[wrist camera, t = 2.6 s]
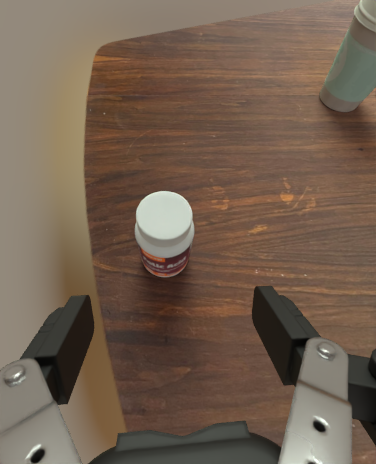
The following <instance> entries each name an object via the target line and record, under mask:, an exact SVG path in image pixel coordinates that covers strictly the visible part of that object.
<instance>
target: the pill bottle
mask: <svg viewBox="0 0 376 464" xmlns="http://www.w3.org/2000/svg"><path fill="white" fill-rule="evenodd" d="M136 221H137V222H136V225H135V237H136V241H137V244H138V247H139V251H140V255H141V258H142V261H143V264H144V266H145V267H146V269H147V270H148V271H149V272H150V273H152V274H154V275H156V276H159V277H171V276H174V275H176V274H178V273H179V272H181V271H182V270H183V269H184V267H185V266H186V264H187V262H188V258H189V254H190V250H191V246H192V242H193V237H194V224H193V221H192V210H191V207H190V205H189V204H188V202H187V201H186V200H185V199H184V198H183V197H182V196H180V195H178V194H176V193H173V192H168V191H160V192H155V193H152V194H150V195H148V196H147V197H145V198H144V199H143V200H142V201H141V203H140V204H139V206H138V208H137V212H136Z"/></svg>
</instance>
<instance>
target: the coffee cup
mask: <svg viewBox="0 0 376 464" xmlns="http://www.w3.org/2000/svg"><path fill="white" fill-rule="evenodd" d="M354 13H355V16H354V18H353V20H352V22H351V24H350V26H349V29H348V31H347V33H346V35H345V38H344V40H343V42H342V44H341V46H340V49H339V51H338V53H337V55H336V58H335V60H334V62H333V64H332V66H331V69H330V71H329V73H328V75H327V77H326V80H325V82H324V84H323V86H322V89H321V91H320V99H321V101H322V102H323V103H324V104H325V105H326V106H327V107H329V108H331V109H333V110H336V111H339V112H350V111H353V110H354V109H355V108H356V107H357V106H358V105H359V104H360V103H361V102H362V101H363V100H364V99H365V98H366V97H367V96H368V95H369V94H370V93H371V92H372V90H373V89H374V88H375V87H376V0H360V2H359V4H358V5H357V6H356V7H355V10H354Z"/></svg>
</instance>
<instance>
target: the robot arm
mask: <svg viewBox="0 0 376 464" xmlns="http://www.w3.org/2000/svg"><path fill="white" fill-rule="evenodd" d="M252 319H253V323H254V326H255V328H256V330H257V332H258V334H259V336H260V338H261V340H262V342H263V344H264V346H265V348H266V350H267V352H268V354H269V356H270V358H271V360H272V362H273V364H274V366H275V369H276V371H277V373H278V375H279V377H280V379H281V381H282V383H283V385H294V386H295V387H296V388H295V392H294V396H293V401H292V405H291V409H290V414H289V418H288V422H287V427H286V431H285V435H284V440H283V444H282V448H281V447H280V446H278V445H277V444H276V443H274V442H272V441H271V440H269V439H267V438H265V437H263V436H260V435H257V434H254V433H250V432H249V431H248V427H247V424H246V421H236V422H226V423H217V424H213V425H211V426H208V427H206V428H203V429H201V430H199V431H196V432H194V433H191V434H189V435H186V436H178V435H173V434H168V433H163V432H157V431H152V430H147V431H137V432H127V433H118V438H117V443H116V446H115V447H113V448H110V449H109V450H107V451H105V452H103V453H102V454H100V455H99V456H97V457H96V458H94V459H93V460H92V461H91V462H90V463H89V464H352V418H353V419H357V420H359V421H360V422H361V424H362V425H363V427H364V428H365V430H366V431H367V433H368V435H369V436H370V438H371V439H372V441H373V442H374V444H375V445H376V349H375V350H373V352H372V355H371V358H367V357H361V356H356V355H350V354H347V353H346V351H345V350H344V349H343V348H342V347H341V346H340V345H338V344H337V343H335V342H333V341H331V340H329V339H326V338H322V337H321V336H320V335H319V334H318V333H317V331H316V330H315V329H314V328H313V326H312V325H311V324H310V323H309V321H308V320H307V319H306V318H305V317H304V316H303V314H302V313H301V312H300V310H298V308H297V307H296V305H295V304H294V303H293V302H292V301H291V300H289V299H288V298H286V297H285V296H283V295H278V293H277V292H276V291H275V290H274V288H273V287H272V286H256V287H255V289H254V298H253V308H252ZM93 333H94V319H93V313H92V306H91V300H90V297H89V295H81V296H71V297H70V299H69V300H68V302H67V303H66V305H65V307H62V308H58V309H56V310H55V311H54V312H53V313H51V314H50V315H49V316H48V318H47V319H46V321H45V322H44V324H43V326H42V327H41V328H40V330H39V331H38V333H37V334H36V336H35V337H34V339H33V340H32V342H31V343H30V345H29V346H28V348H27V349H26V351H25V352H24V354H23V355H22V357H21V358H20V360H17V361H14V362H12V363H10V364H8V365H6V366H5V367H3V368H2V369H1V370H0V464H82V462H81V459H80V457H79V455H78V452H77V450H76V448H75V445H74V443H73V440H72V438H71V436H70V433H69V431H68V428H67V426H66V424H65V421H64V419H63V417H62V414H61V412H60V409H59V407H58V405H61V404H68V401H69V399H70V396H71V393H72V391H73V388H74V385H75V383H76V380H77V377H78V375H79V372H80V369H81V366H82V364H83V361H84V358H85V356H86V353H87V350H88V347H89V345H90V342H91V339H92V337H93Z"/></svg>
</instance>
